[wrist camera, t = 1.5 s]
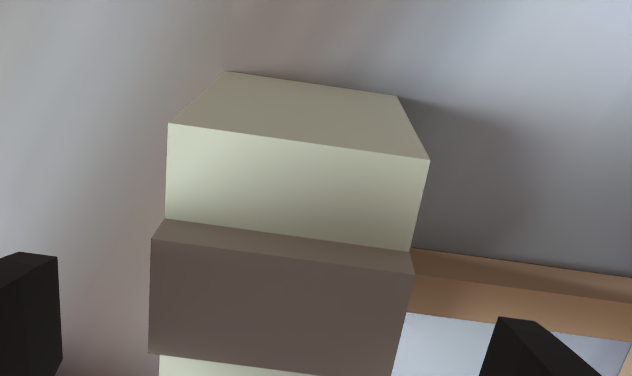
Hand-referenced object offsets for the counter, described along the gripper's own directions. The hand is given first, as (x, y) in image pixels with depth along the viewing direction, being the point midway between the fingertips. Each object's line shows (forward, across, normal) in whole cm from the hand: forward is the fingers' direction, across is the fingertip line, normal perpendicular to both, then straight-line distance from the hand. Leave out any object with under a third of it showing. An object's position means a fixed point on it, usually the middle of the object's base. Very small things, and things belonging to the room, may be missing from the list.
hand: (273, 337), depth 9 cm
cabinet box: (+7, 0, 0) cm, 7 cm away
